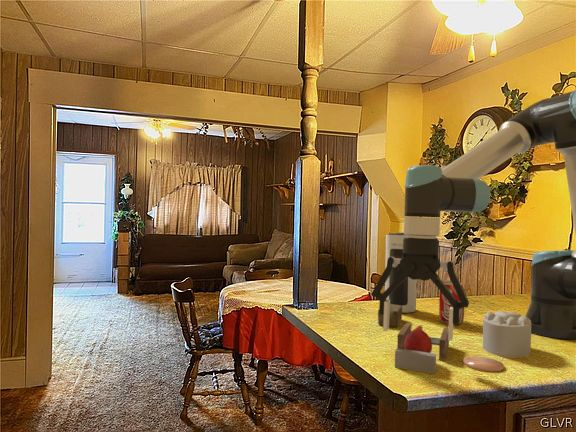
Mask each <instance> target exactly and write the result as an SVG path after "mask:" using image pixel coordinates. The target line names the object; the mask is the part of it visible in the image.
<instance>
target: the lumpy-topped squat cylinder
mask: <svg viewBox="0 0 576 432" xmlns="http://www.w3.org/2000/svg"><path fill="white" fill-rule="evenodd" d="M525 316H526V315H521V313H518V312H509V311H508V312H507V311H502V310H498V311H495V312H492V311H487V312H486V313H485V314H484V317H483V324H482V326H483V328H482V349H483V350H485V352H487V353H489V354H492V355H495V356H497V357H502V358H509V359H510V358H511V359H514V358H515V359H516V358H517V359H519V358H525V357H529V356H530V355H531V350H532V349H531V348H532V347H531V346H532V333H531V321H530V320H529V319H528V318H527V317H525Z"/></svg>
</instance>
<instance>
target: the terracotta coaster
mask: <svg viewBox="0 0 576 432" xmlns="http://www.w3.org/2000/svg"><path fill="white" fill-rule="evenodd" d="M462 362H463V365H465V366H466V367H467V368H470V369H473V370H477V371H481V372H487V373H488V372H490V373H492V372H493V373H495V372H496V373H497V372H501V371H503V370H504V363H503V362H501V361H499V360H497V359H494V358H492V357H491V358H490V357H485V356H466V357H464V358H463V359H462Z"/></svg>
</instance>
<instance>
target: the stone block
mask: <svg viewBox="0 0 576 432" xmlns="http://www.w3.org/2000/svg"><path fill="white" fill-rule="evenodd" d="M377 317H378V318H377V321H378V322H377V323H378V325H379V326H382V327H383V321H384V315H380V313H379V309H378V310H377ZM402 318H403V313H402V306H401V305H394V304H390V314H389V328H397V327H398V325H399V324H400V323H401V321H402Z"/></svg>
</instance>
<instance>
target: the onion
mask: <svg viewBox="0 0 576 432" xmlns="http://www.w3.org/2000/svg"><path fill="white" fill-rule="evenodd" d="M430 337H431V336H429V335H428V333H426V332H425V331H424V330H423V326H422V325H417V326H416V327H415V328H414V329H413V330H412V329H411V332H410V333H409V334H408V335H407V336H406V338H405V342H404V346H405V349H406V350H413V351H420V352H427V353H432V351H433V344H432V342H431V339H430Z"/></svg>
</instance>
